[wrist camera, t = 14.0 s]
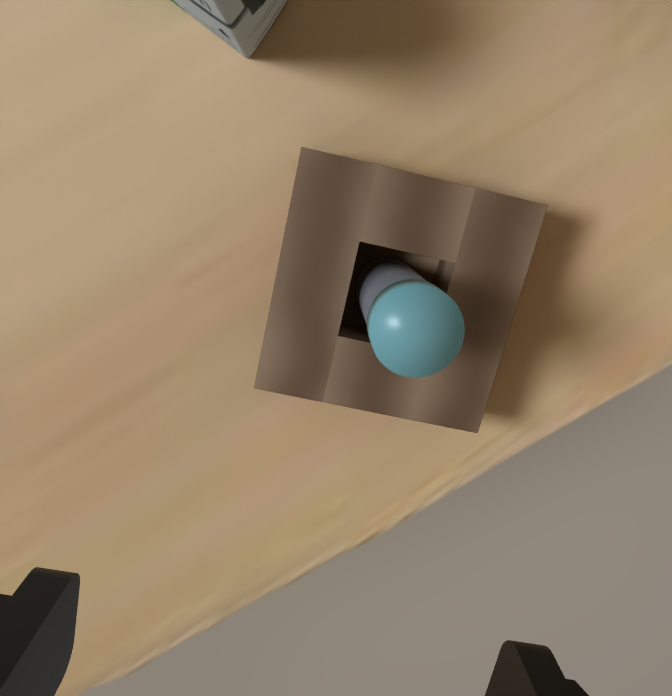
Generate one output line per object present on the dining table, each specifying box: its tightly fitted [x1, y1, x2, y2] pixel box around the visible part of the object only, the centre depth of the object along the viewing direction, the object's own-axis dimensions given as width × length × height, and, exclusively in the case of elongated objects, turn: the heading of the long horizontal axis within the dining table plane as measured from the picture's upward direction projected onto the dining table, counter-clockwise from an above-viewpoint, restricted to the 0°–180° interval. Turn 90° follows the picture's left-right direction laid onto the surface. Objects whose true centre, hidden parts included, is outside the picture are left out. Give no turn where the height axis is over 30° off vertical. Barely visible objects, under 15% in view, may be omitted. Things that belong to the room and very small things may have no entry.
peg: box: [356, 258, 465, 378], centre depth 31 cm, size 4×4×12 cm
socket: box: [254, 147, 548, 433], centre depth 35 cm, size 14×14×4 cm
